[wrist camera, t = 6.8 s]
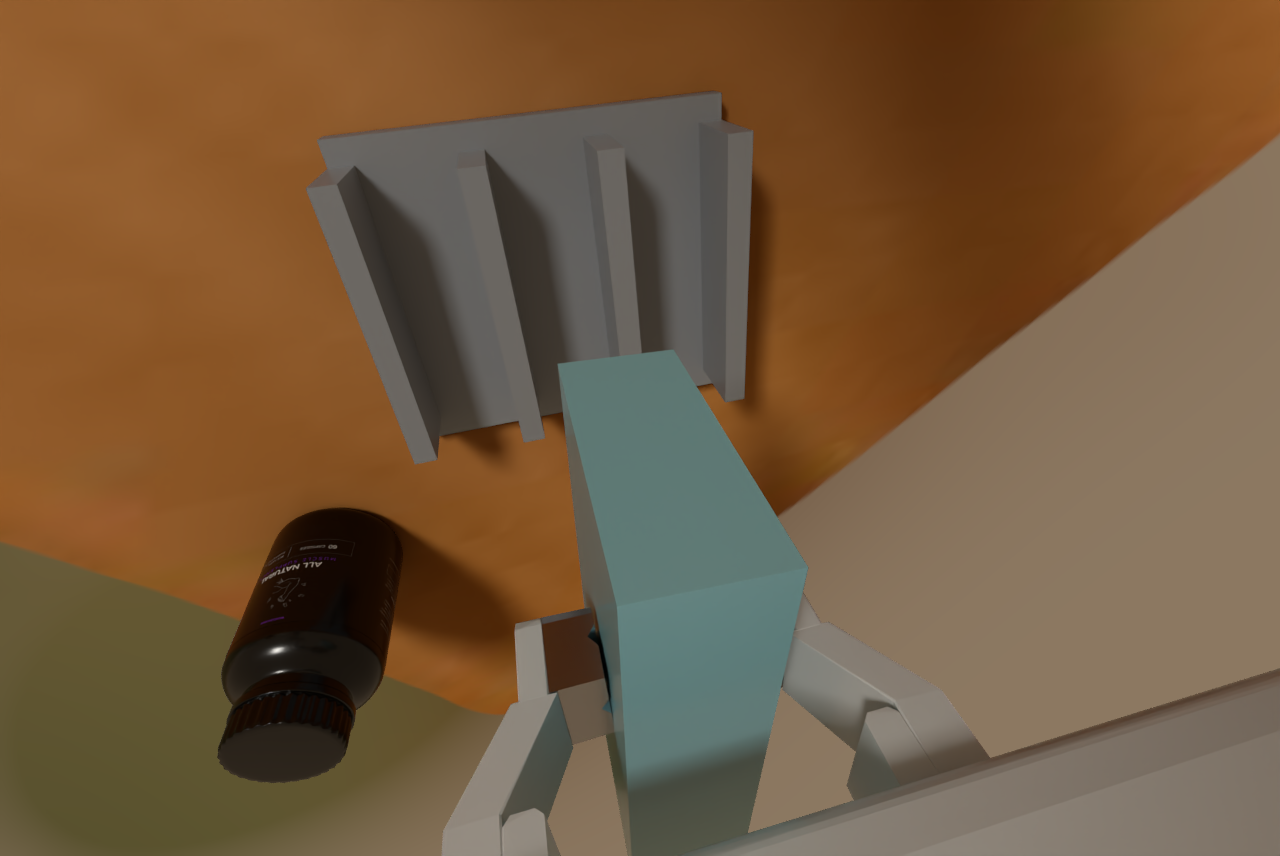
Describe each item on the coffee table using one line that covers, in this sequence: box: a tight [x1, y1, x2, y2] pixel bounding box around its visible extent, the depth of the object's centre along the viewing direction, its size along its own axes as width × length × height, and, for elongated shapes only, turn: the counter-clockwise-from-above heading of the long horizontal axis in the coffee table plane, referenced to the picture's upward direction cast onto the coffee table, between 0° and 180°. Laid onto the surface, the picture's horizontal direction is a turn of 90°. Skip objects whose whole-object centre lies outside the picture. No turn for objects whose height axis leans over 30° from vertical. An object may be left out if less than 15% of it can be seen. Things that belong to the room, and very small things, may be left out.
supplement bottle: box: [218, 508, 403, 783], centre depth 29 cm, size 7×7×12 cm
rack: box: [306, 91, 753, 464], centre depth 26 cm, size 14×16×4 cm
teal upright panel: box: [558, 349, 808, 856], centre depth 12 cm, size 9×2×6 cm, turn 1°
